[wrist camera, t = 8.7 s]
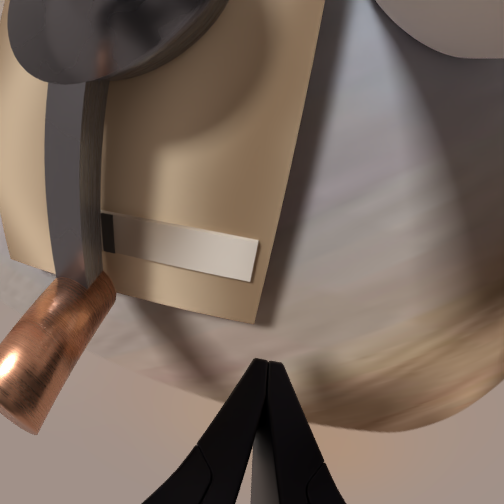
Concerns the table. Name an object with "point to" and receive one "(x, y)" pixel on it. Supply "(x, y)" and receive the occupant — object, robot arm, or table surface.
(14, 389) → the lever
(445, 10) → the can
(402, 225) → the table surface
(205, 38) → the stand
